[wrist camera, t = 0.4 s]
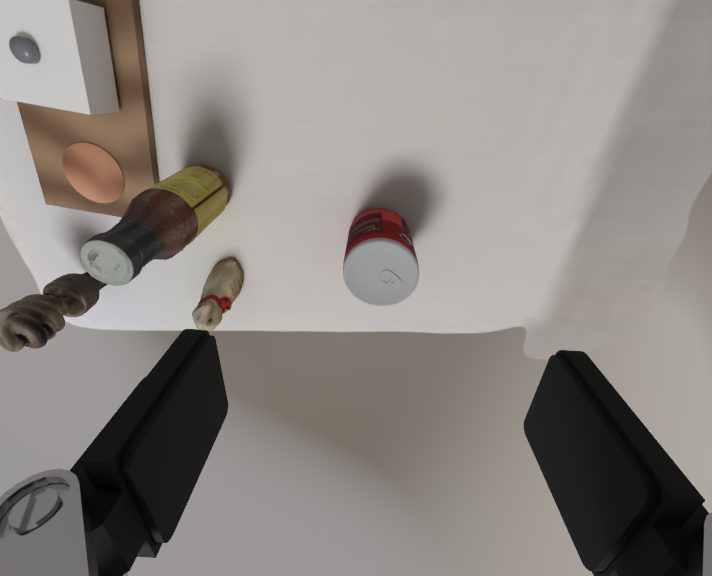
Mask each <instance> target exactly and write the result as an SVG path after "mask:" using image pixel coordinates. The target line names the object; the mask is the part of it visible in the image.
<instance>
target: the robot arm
mask: <svg viewBox="0 0 712 576" xmlns="http://www.w3.org/2000/svg"><path fill="white" fill-rule="evenodd" d="M227 411H228V400H227V395H226V390H225V385H224V380H223V375H222V370H221V365H220V360H219V355H218V350H217V345H216V340H215V337H214V336H210V335H209V332H208V331H207V330H195V329H185V330H183V331H182V332H181V334H180V335H179V336H178V337H177V339H176V340H175V341H174V342H173V344H172V345H171V346H170V348H169V349H168V350H167V351H166V353H165V354H164V355H163V356H162V358H161V359H160V360H159V362H158V363H157V364H156V365H155V367H154V368H153V369H152V371H151V372H150V373H149V374H148V375H147V377H145V378H144V379H143V380H142V381H141V382H140V383H139V384H138V385H137V387H136V388H135V389H134V390H133V392H132V393H131V394H130V396H129V397H128V398H127V400H126V401H125V402H124V403H123V404H122V406H121V407H120V408H119V409H118V411H117V412H116V413H115V414H114V416H113V417H112V418H111V419H110V421H109V422H108V423H107V425H106V426H105V427H104V428H103V429H102V431H101V432H100V433H99V435H98V436H97V437H96V438H95V439H94V441H93V442H92V443H91V445H90V446H89V447H88V448H87V450H86V451H85V452H84V453H83V455H82V456H81V457H80V458H79V460H78V461H77V462H76V463H75V465H74V466H73V467H72V468H71V470H70V471H69V470H63V469H55V470H48V471H44V472H41V473H38V474H36V475H33V476H31V477H29V478H27V479H25V480H23V481H21V482H19V483H18V484H16V485H15V486H14V487H12V488H11V489H10V490H8V491H7V492H5V493H4V494H3V495H2V496H1V497H0V576H128V574H127V572H128V571H130V569H131V567H132V565H133V563H134V561H135V559H136V557H137V556H138V557H153V558H156V556H157V554H158V552H159V549H160V547H161V545H162V543H167V542H168V541H169V540H170V539H171V537H172V535H173V533H174V531H175V529H176V527H177V525H178V522H179V520H180V518H181V516H182V513H183V511H184V509H185V507H186V505H187V502H188V500H189V498H190V495H191V493H192V491H193V489H194V487H195V484H196V482H197V480H198V478H199V475H200V473H201V471H202V469H203V467H204V464H205V462H206V460H207V458H208V455H209V453H210V451H211V449H212V446H213V444H214V442H215V440H216V437H217V435H218V433H219V431H220V429H221V426H222V424H223V422H224V420H225V418H226V415H227ZM524 431H525V435H526V437H527V439H528V442H529V444H530V446H531V448H532V450H533V453H534V455H535V457H536V459H537V462H538V464H539V466H540V469H541V471H542V473H543V475H544V477H545V480H546V482H547V484H548V487H549V489H550V491H551V493H552V496H553V498H554V500H555V502H556V505H557V507H558V509H559V511H560V514H561V516H562V518H563V520H564V523H565V525H566V527H567V529H568V532H569V534H570V536H571V538H572V541H573V543H574V545H575V547H576V550H577V552H578V554H579V556H580V559H581V561H582V563H583V565H584V566H585V567H586V568H587V569H588V570H589V571H592V573H593V574H594V576H712V513H710V514H709V513H708V512H707V510H706V509H705V508H704V507H703V505H702V504H703V502H704V501H705V500H704V499H703V497H702V496H701V495H700V494H699V492H698V491H697V490H696V489H695V487H694V486H693V485H692V484H691V482H690V481H689V480H688V479H687V477H686V476H685V475H684V474H683V473H682V471H681V470H680V469H679V468H678V466H677V465H676V464H675V463H674V461H673V460H672V459H671V458H670V457H669V455H668V454H667V453H666V452H665V450H664V449H663V448H662V447H661V445H660V444H659V443H658V442H657V440H656V439H655V438H654V437H653V436H652V434H651V433H650V432H649V431H648V429H647V428H646V427H645V426H644V424H643V423H642V422H641V421H640V420H639V418H638V417H637V416H636V415H635V413H634V412H633V411H632V410H631V408H630V407H629V406H628V405H627V403H626V402H625V401H624V400H623V399H622V397H621V396H620V395H619V394H618V392H617V391H616V390H615V389H614V387H613V386H612V385H611V384H610V383H609V381H608V380H607V379H606V378H605V376H604V375H603V374H602V373H601V371H600V370H599V369H598V368H597V367H596V365H595V364H594V363H593V362H592V360H591V359H590V358H589V357H588V355H587V354H585V353H584V352H582V351H567V350H560V351H558V352H557V353H556V355H552V356H551V357H550V358H549V361H548V364H547V366H546V368H545V371H544V373H543V376H542V378H541V381H540V383H539V386H538V388H537V391H536V393H535V395H534V398H533V401H532V403H531V406H530V408H529V410H528V413H527V416H526V418H525V421H524Z"/></svg>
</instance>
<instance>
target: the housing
mask: <svg viewBox="0 0 712 576" xmlns="http://www.w3.org/2000/svg"><path fill="white" fill-rule="evenodd" d="M0 98H1V99H6V100H12V101H17V102H23V103H28V104H34V105H39V106H45V107H50V108H55V109H61V110H66V111H72V112H77V113H83V114H88V115H95V114H104V113H114V112H120V111H119V105H118V98H117V92H116V85H115V79H114V72H113V66H112V59H111V53H110V46H109V40H108V33H107V27H106V21H105V14H104V8H102V7H99V6H95V5H92V4H88V3H85V2H81V1H78V0H0Z"/></svg>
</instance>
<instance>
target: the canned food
mask: <svg viewBox="0 0 712 576" xmlns="http://www.w3.org/2000/svg"><path fill="white" fill-rule="evenodd" d="M343 277H344V280H345V283H346V285H347V287H348V289H349V290H350V292H351V293H352V294H353V295H354V296H355V297H357V298H358V299H360V300H361V301H363V302H365V303H368V304H371V305H376V306H388V305H393V304H396V303H399V302H401V301H403V300H404V299H406V298H407V297H408V296H409V295H410V294H411V293H412V292H413V291H414V289H415V287H416V286H417V283H418V279H419V267H418V262H417V257H416V254H415V250H414V246H413V242H412V238H411V235H410V231H409V228H408V226H407V224H406V223H405V221H404V220H403V219H402V218H401V217H400V216H399V215H397V214H396V213H394V212H392V211H389V210H385V209H372V210H369V211H366V212H364V213H362V214H361V215H359V216H358V217H357V218H356V219H355V220H354V222H353V223H352V225H351V227H350V230H349V235H348V241H347V247H346V252H345V258H344V265H343Z"/></svg>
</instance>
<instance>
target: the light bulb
mask: <svg viewBox="0 0 712 576" xmlns="http://www.w3.org/2000/svg"><path fill="white" fill-rule="evenodd" d="M106 285H107V284H106V283H103V282H101V281H99V280H97V279H95V278H94V277H92V276H91V275H90V274H89V273H88V272H86V273H84V274H67V275H64V276H61V277H59V278H57V279H55V280H54V281H52V282H51V283H49V284H47V285H46V286H45V287H44V290H43V295H40V294H34V295H29V296H26V297H24V298H22V299H21V300H19V301H16V302H13V303H12V304H10V305H9V306H7V307H6V308H3V309H1V310H0V346H2V347H3V348H4V349H6V350H8V351H12V352H17V351H19V350H21V349H22V348H23V347H24V346H27V347H30V348H40V347H43V346H44V345H45V344H46V343H47V340H49V339H52V338H53V337H54V336H55V335H56V332H58V331H61V330H62V329H63V328H64V326H65V320H64V317H63V315H65V316H68V317H78V316H81V315H83V314H84V313H86V312H87V311H88V310H89V309H90V308H91V307H93V306H94V305H95V304H96V303H97V301H98V299H99V290H100V289H101V288H103V287H104V286H106Z"/></svg>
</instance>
